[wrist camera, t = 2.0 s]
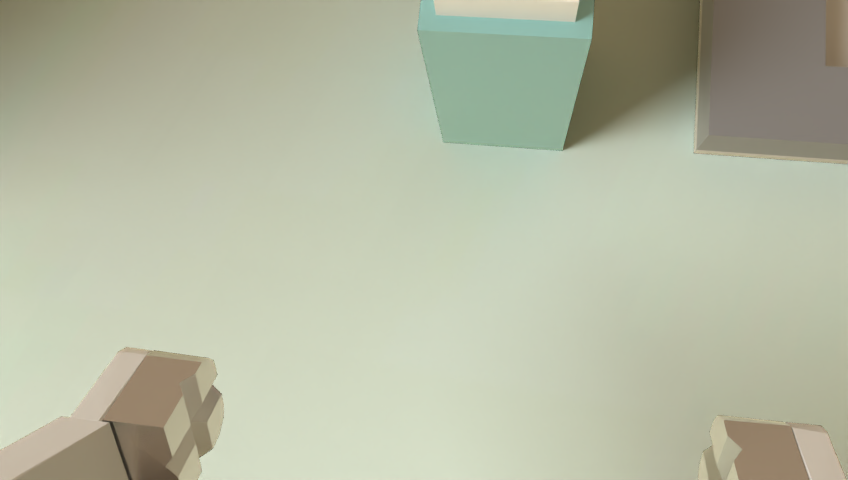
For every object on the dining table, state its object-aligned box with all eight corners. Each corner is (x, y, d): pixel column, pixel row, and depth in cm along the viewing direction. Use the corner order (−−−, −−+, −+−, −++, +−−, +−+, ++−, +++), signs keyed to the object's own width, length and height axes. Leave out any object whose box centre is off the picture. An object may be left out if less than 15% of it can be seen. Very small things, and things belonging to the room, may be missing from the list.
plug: (443, 142, 28) (412, 10, 18) (455, 33, 29) (432, -148, 19) (562, 150, 27) (596, 20, 18) (570, 39, 28) (608, -145, 18)
